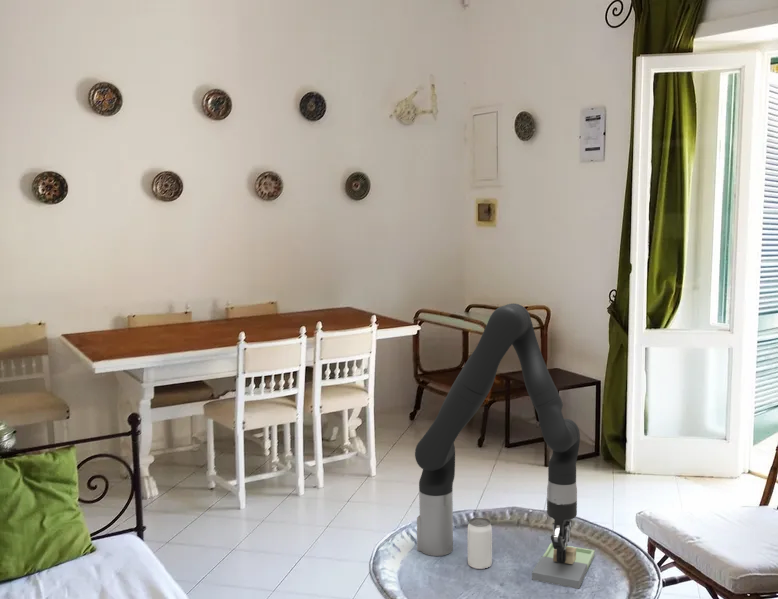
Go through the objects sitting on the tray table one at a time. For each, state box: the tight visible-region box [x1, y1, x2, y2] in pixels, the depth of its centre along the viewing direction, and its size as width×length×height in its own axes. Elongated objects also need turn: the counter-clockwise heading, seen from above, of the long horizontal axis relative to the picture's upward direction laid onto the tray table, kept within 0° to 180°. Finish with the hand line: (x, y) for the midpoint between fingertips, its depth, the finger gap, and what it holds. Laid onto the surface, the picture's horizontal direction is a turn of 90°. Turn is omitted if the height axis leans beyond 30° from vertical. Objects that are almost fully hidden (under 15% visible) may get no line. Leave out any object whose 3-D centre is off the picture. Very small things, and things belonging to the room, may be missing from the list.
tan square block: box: [553, 547, 576, 564], centre depth 215 cm, size 5×5×3 cm
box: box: [543, 542, 596, 571], centre depth 220 cm, size 12×10×2 cm
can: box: [466, 516, 493, 570], centre depth 217 cm, size 6×6×12 cm
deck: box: [531, 556, 588, 589], centre depth 211 cm, size 12×10×2 cm
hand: (561, 561), depth 212 cm, fingers closed
